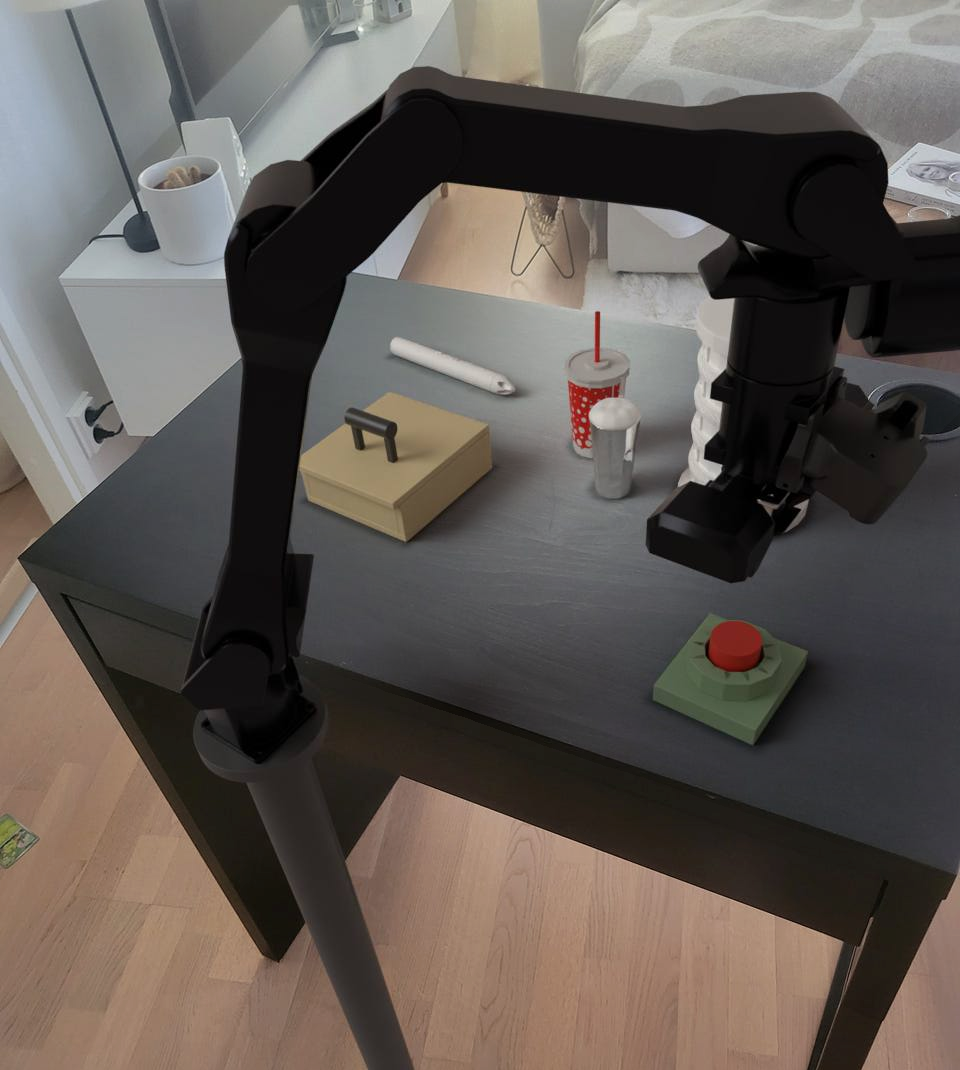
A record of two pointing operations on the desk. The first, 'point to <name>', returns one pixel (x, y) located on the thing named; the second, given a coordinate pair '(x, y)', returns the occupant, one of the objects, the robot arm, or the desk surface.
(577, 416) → the beverage cup
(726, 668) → the release button
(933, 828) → the desk surface
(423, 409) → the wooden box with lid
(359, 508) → the tan wooden shallow box
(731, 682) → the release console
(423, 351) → the marker
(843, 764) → the desk surface
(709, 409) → the decorative container
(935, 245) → the robot arm
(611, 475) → the milkshake
